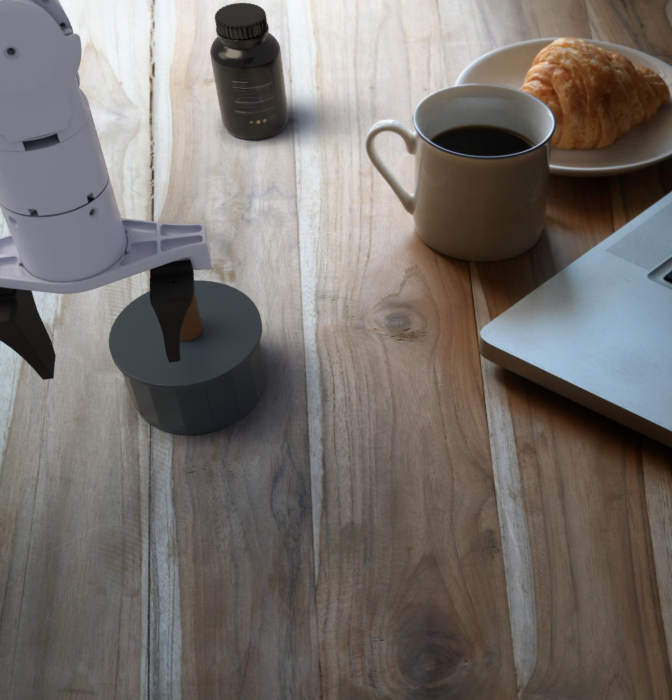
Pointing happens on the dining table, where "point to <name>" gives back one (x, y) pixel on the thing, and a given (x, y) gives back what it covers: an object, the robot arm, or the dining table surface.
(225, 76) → the supplement bottle
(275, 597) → the dining table surface
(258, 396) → the pot
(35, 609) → the dining table surface
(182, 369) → the lid
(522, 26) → the dining table surface
